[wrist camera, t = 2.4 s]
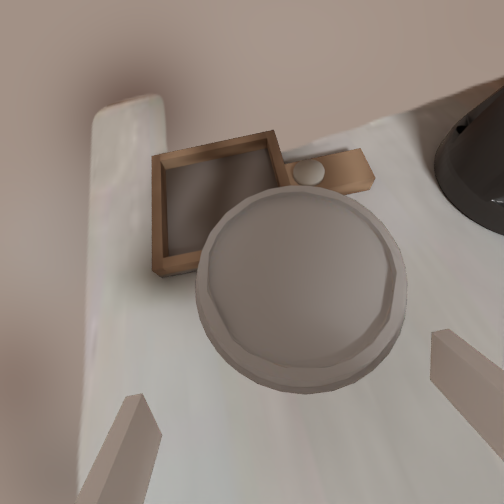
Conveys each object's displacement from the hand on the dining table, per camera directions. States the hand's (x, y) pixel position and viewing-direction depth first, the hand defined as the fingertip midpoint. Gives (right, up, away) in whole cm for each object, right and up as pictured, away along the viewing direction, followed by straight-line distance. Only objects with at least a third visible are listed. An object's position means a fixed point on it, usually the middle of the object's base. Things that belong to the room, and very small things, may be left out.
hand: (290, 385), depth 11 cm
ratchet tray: (-1, +12, +15) cm, 20 cm away
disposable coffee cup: (+1, 0, +10) cm, 10 cm away
